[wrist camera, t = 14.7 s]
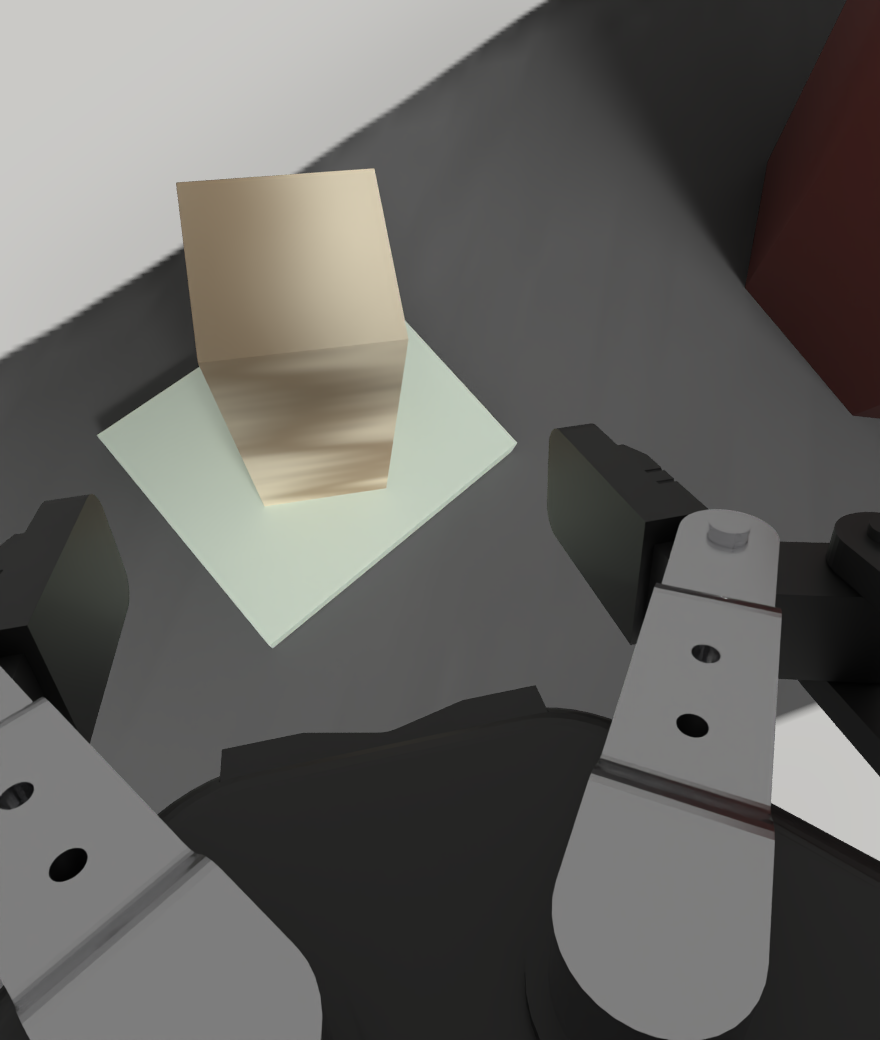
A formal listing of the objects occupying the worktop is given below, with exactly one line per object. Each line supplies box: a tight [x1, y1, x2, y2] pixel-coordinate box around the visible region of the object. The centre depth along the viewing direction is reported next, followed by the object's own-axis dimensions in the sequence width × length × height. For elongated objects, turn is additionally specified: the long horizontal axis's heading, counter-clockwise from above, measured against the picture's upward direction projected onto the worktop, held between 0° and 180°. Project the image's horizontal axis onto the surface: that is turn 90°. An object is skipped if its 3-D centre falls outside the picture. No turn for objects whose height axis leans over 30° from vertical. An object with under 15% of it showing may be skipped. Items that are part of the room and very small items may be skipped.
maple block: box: [176, 169, 408, 506], centre depth 20 cm, size 4×4×11 cm
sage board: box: [97, 321, 517, 648], centre depth 26 cm, size 12×10×1 cm
